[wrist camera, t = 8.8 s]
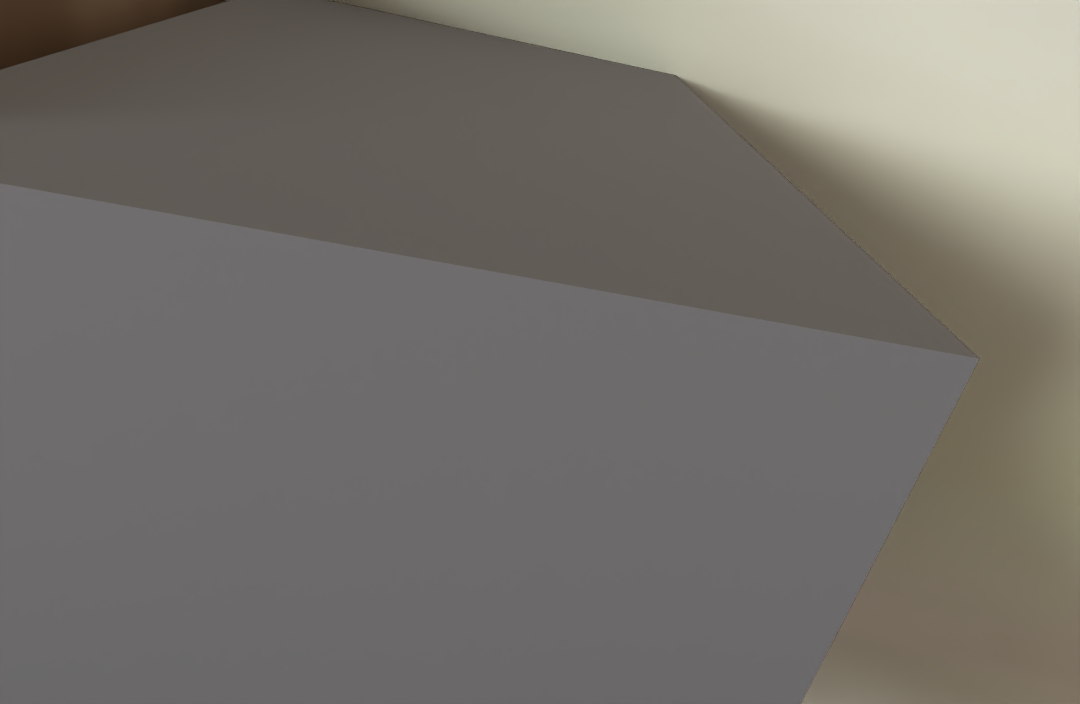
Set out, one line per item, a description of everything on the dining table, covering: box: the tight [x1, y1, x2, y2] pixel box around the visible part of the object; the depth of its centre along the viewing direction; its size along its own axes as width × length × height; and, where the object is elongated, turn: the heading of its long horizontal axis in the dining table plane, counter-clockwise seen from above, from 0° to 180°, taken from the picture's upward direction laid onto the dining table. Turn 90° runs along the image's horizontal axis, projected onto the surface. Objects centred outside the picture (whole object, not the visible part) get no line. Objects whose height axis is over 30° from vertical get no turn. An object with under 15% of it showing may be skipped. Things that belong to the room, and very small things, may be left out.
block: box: [0, 0, 979, 704], centre depth 7 cm, size 6×4×6 cm, turn 168°
